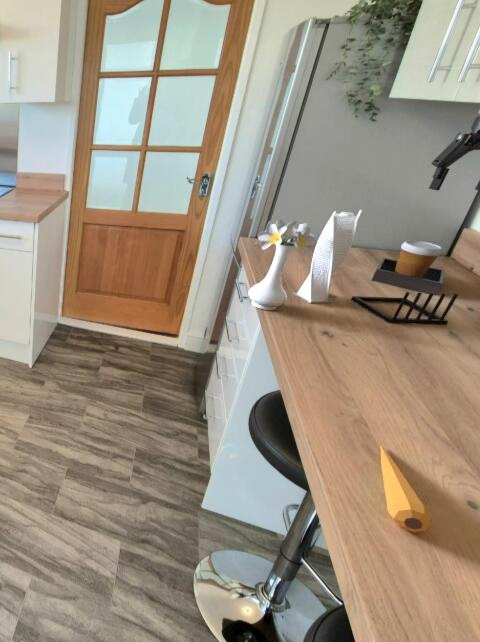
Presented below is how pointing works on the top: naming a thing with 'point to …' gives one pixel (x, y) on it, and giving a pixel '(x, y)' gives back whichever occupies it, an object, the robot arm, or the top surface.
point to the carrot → (402, 498)
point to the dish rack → (422, 310)
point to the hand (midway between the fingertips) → (456, 190)
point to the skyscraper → (329, 256)
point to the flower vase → (279, 261)
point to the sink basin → (409, 278)
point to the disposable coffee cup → (416, 258)
